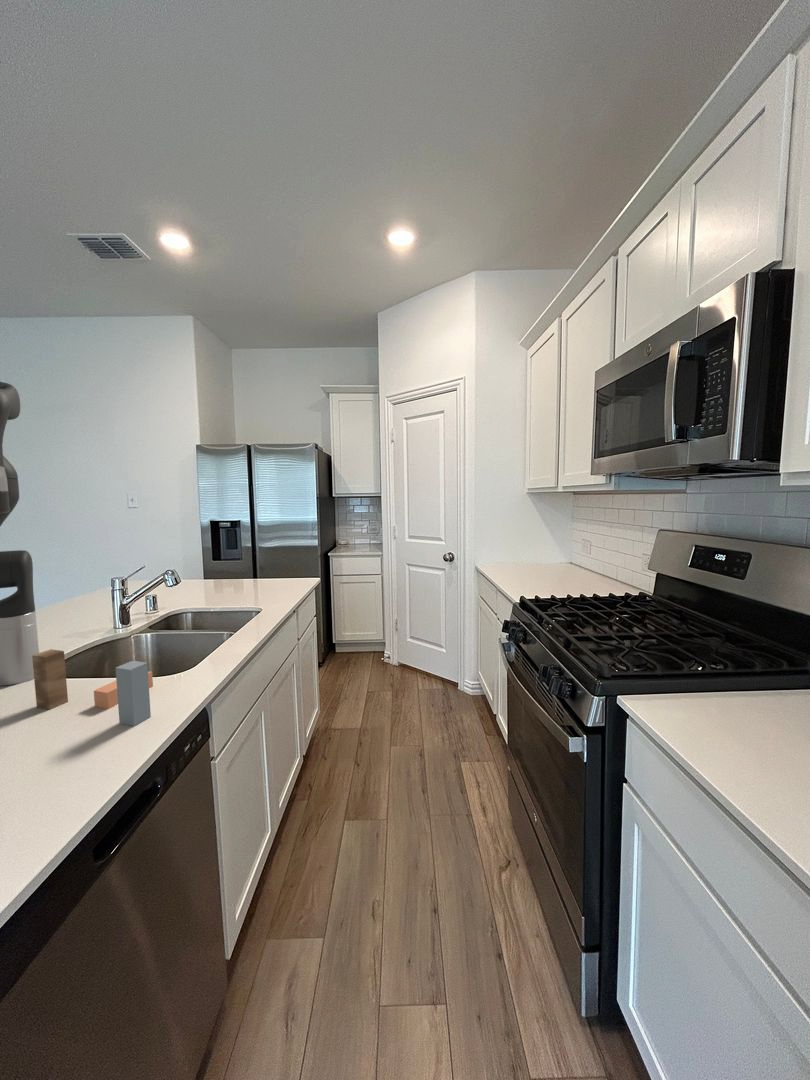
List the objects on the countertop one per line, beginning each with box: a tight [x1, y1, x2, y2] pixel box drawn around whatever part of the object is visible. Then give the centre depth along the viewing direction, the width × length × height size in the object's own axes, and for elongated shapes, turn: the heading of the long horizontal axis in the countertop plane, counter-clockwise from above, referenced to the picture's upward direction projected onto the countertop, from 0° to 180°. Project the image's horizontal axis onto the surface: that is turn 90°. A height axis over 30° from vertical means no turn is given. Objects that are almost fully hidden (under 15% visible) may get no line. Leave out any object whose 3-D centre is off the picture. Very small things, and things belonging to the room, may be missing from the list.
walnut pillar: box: [32, 648, 69, 711], centre depth 100 cm, size 4×4×12 cm
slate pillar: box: [115, 660, 152, 727], centre depth 93 cm, size 4×4×12 cm
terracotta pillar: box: [93, 670, 154, 710], centre depth 105 cm, size 4×4×12 cm
